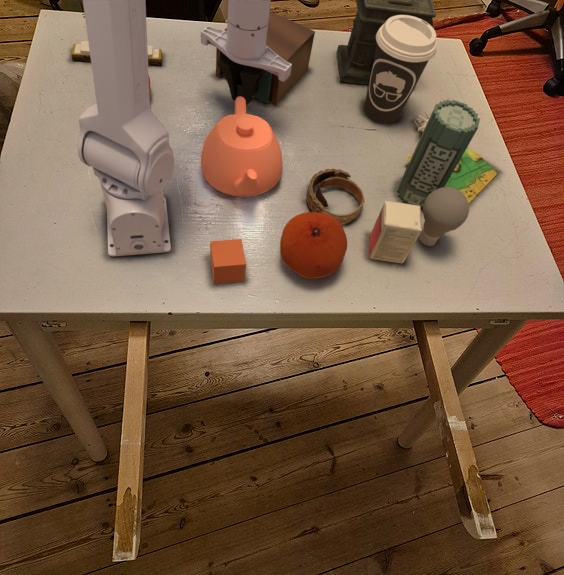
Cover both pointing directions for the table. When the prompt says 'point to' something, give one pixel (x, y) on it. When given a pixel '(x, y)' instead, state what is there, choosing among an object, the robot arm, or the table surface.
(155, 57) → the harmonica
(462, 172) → the terrain map
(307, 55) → the cupboard
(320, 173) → the bracelet
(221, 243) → the block
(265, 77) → the door
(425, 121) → the stegosaurus
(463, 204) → the light bulb
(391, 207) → the small box
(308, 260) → the fruit
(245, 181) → the teapot
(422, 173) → the can
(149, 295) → the table surface
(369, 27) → the model
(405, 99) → the coffee cup
